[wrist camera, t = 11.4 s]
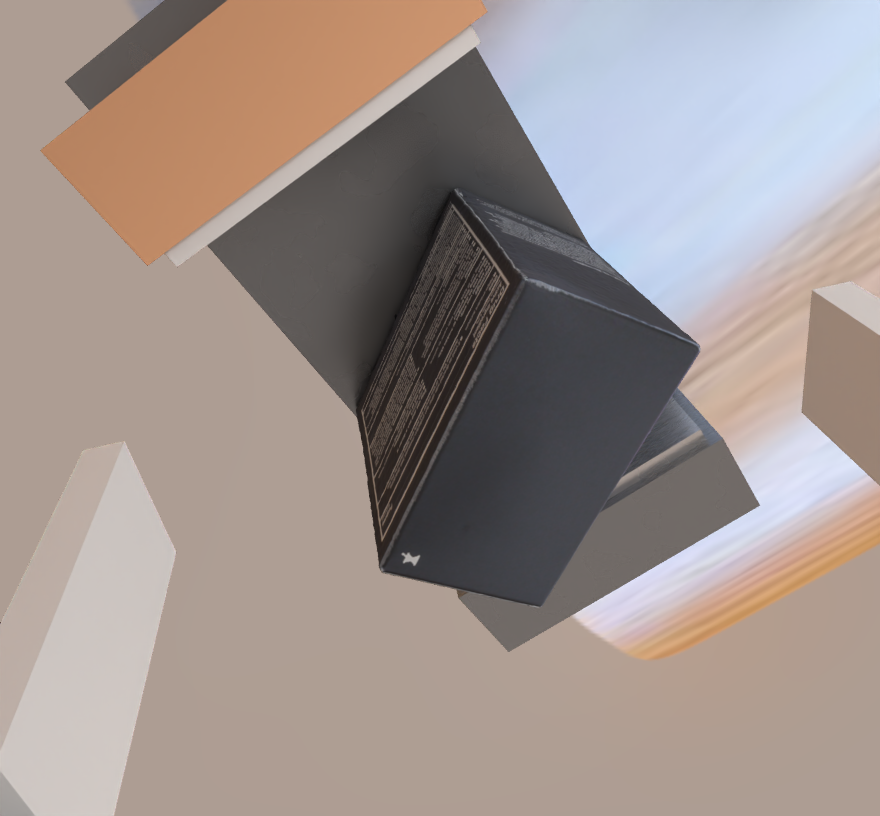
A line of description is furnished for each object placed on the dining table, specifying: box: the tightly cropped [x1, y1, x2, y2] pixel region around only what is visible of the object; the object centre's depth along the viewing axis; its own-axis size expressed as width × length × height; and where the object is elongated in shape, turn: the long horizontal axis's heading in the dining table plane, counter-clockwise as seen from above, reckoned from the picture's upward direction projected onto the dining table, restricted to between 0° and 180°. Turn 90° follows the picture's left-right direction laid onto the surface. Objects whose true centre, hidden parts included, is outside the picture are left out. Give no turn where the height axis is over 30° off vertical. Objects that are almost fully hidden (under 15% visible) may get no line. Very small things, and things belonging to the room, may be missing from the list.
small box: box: [356, 188, 700, 608], centre depth 27 cm, size 11×6×10 cm, turn 156°
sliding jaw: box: [41, 0, 487, 267], centre depth 24 cm, size 5×12×6 cm, turn 124°
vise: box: [65, 0, 760, 652], centre depth 29 cm, size 28×12×8 cm, turn 34°
